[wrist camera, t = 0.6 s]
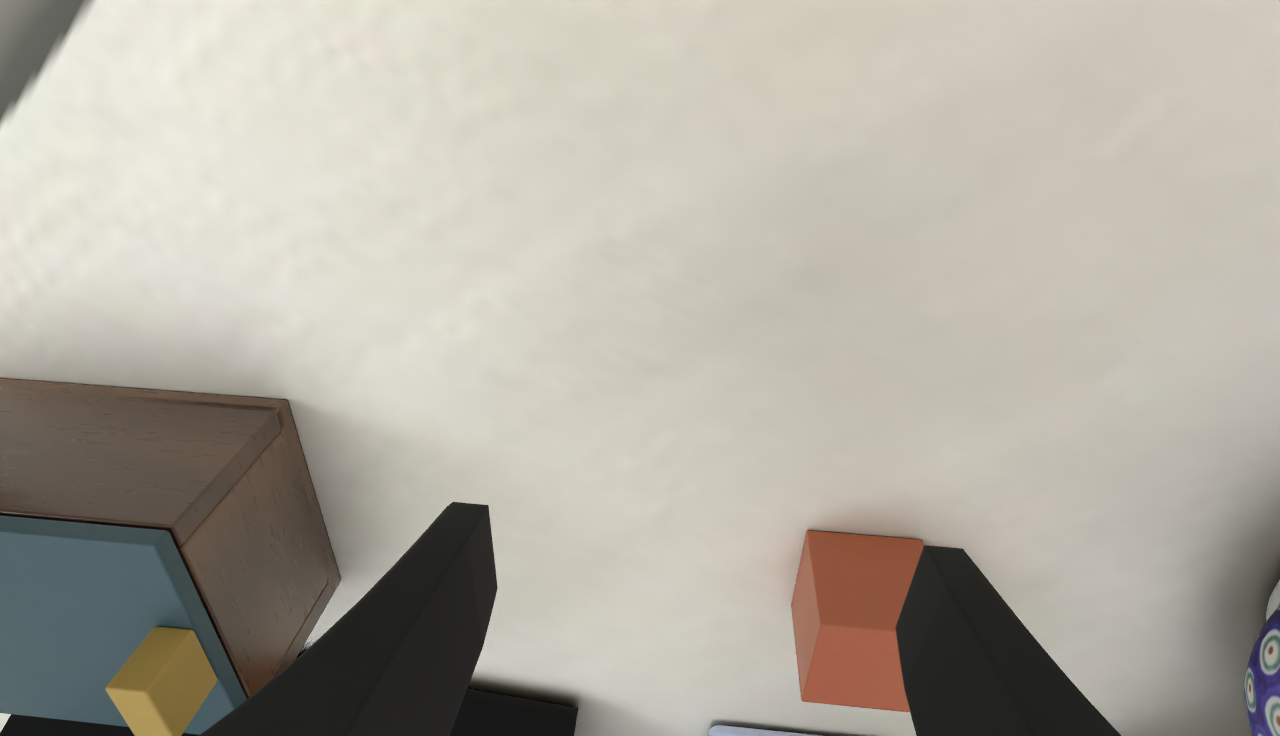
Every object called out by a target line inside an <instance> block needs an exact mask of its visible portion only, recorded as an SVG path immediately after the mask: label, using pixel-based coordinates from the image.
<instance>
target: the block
mask: <svg viewBox="0 0 1280 736" xmlns="http://www.w3.org/2000/svg"><path fill="white" fill-rule="evenodd" d="M923 547H924V544H923V541H922V540H916V539H904V538H892V537H880V536H868V535H856V534H844V533H833V532H821V531H809V530H808V531H807V532H806V537H805V542H804V546H803V551H802V556H801V561H800V566H799V571H798V575H797V580H796V585H795V590H794V595H793V599H792V604H791V607H792V616H793V626H794V635H795V645H796V654H797V663H798V673H799V682H800V692H801V700H802V701H803V702H813V703H823V704H833V705H842V706H852V707H862V708H872V709H882V710H892V711H902V712H910V709H909V705H908V701H907V697H906V693H905V689H904V683H903V677H902V671H901V664H900V658H899V650H898V643H897V636H896V628H895V627H896V624H897V621H898V619H899V616H900V613H901V610H902V607H903V604H904V601H905V599H906V596H907V593H908V590H909V587H910V584H911V581H912V578H913V576H914V573H915V570H916V567H917V564H918V561H919V558H920V556H921V553H922V550H923Z"/></svg>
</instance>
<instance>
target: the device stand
mask: <svg viewBox="0 0 1280 736" xmlns="http://www.w3.org/2000/svg"><path fill="white" fill-rule="evenodd" d="M296 659H297V658H296ZM577 714H578V708H574V707H569V706H563V705H557V704H552V703H546V702H540V701H535V700H529V699H523V698H518V697H512V696H506V695H501V694H495V693H489V692H484V691H478V690H472V689H467V690H466V693H465V696H464V698H463V701H462V704H461V706H460V709H459V712H458V714H457V717H456V720H455V722H454V725H453V727H452V730H451V733H450V735H449V736H574V731H575V725H576V719H577ZM0 736H135V735H134V734H133V732H132V731H131V729H130V727H125V726H116V725H107V724H98V723H89V722H80V721H71V720H61V719H52V718H43V717H34V716H25V715H16V714H11V716H10V717H9V719H8V721H7V723H6V724H5V726H4V728H3V730H2V731H1V733H0ZM181 736H199V735H198V734H189V733H183V734H182V735H181Z"/></svg>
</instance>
